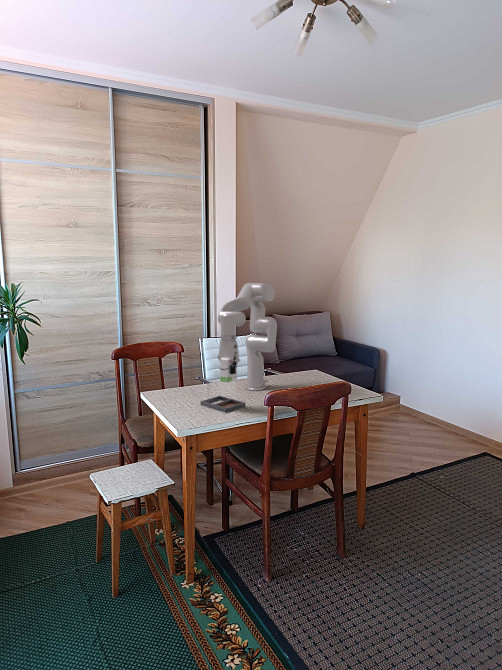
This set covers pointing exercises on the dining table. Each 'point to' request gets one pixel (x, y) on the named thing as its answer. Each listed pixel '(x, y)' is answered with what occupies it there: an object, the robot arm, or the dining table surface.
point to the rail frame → (223, 404)
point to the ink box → (226, 371)
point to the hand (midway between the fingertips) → (228, 372)
